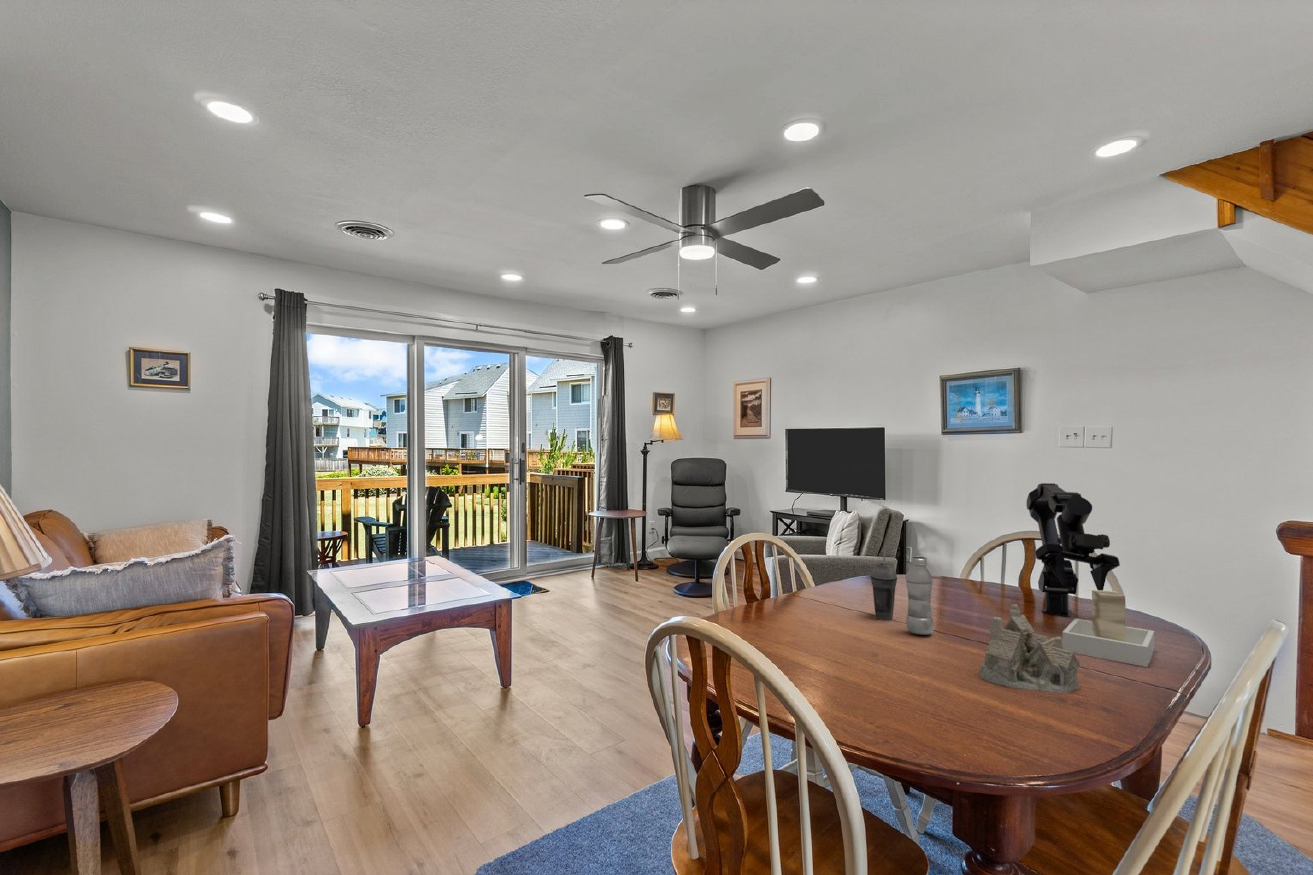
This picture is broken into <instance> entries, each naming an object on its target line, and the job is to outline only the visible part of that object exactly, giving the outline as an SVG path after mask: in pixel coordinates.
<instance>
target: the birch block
mask: <svg viewBox="0 0 1313 875" xmlns="http://www.w3.org/2000/svg"><path fill="white" fill-rule="evenodd" d="M1091 616H1092V617H1091V619H1092V620H1091V621H1092V636H1094V637H1100V638H1105V639H1111V640H1117V641H1122V642H1126V627H1127V626H1126V625H1127V624H1126V595H1124V594H1122V593H1120V592H1118V591H1116V590H1103V591H1102V590H1097V589H1092V590H1091Z"/></svg>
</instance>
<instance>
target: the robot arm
mask: <svg viewBox="0 0 1313 875" xmlns="http://www.w3.org/2000/svg"><path fill="white" fill-rule="evenodd" d="M1026 509H1027V510H1028V512H1029V514H1030V515H1029V516H1030V517H1031V518H1032V519H1033V520H1034V521H1035V522H1036V523H1037V526H1038V529H1039V534H1040V540H1041V544H1042V545H1041V546H1039V547H1038V548H1036V550H1035V559H1036V560H1038V561H1041V563H1042V564H1044V565H1043V566H1042V570H1041V571H1040V572H1041V573H1040V574H1039V578H1038V582H1037V583H1038V590H1039V591H1040V592H1042V593H1045V594H1044V595H1045V596H1044V597H1045V608H1043V610H1041V612H1042V613H1043V614H1049V615H1055V616H1061V617H1069V616H1070V615H1071V614H1072V613H1073V610H1069V608H1070V606H1069V601H1070V600H1069V599H1070V598H1069V595H1077V588H1078V583H1079V577H1077V574H1076V573H1075V571H1074V569H1073V565H1072V564H1073V563H1072V562H1071V561H1075V562H1080V563H1085V564H1088V565H1089V567H1090V569H1091V570H1090V571H1089V572H1090V574H1091V577H1092V580H1093V583H1094V586H1095V587H1096V590H1102V591H1104V589H1105V588H1104V587H1105V583H1106V579H1107V576H1108V573H1109V572H1111V571H1112V570H1114V569H1116V568H1118V567H1119V566H1121V565H1120V564H1121V563H1120V559H1119V557H1118V556H1116V555H1112V554H1107V553H1099V554H1098V555H1096V556H1091V555H1090V554H1093V553H1095V550H1104V548H1105V549H1107V548H1109V547H1110V546H1111V541H1110V538H1109V535H1107V534H1097V535H1096V534H1091V533H1085V529H1084V525H1083V524H1085V523H1086V522H1087V520H1088V519H1089V516H1090V515H1091V513H1092V511H1093V505H1092V503H1091V502H1090V501H1089V500H1088V499H1086V498H1084V497H1082V495H1081V493H1078V492H1074V491H1073V492H1071V491H1065V490H1064V489H1063V488H1061V487H1059V485H1058V484H1056V483H1054V482H1053V483H1047V482H1046V483H1045V482H1044V483H1043V482H1041V483H1039V484H1038V485H1037V487H1036V488H1035V489H1033V490H1032V491H1030V492H1028V495H1027V498H1026ZM1059 513H1060V514H1059ZM1057 514H1059V515H1058V516H1057ZM1056 522H1057V525H1056ZM1057 529H1058V530H1057Z"/></svg>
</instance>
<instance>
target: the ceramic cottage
mask: <svg viewBox="0 0 1313 875" xmlns="http://www.w3.org/2000/svg"><path fill="white" fill-rule="evenodd" d="M1009 612H1010V613H1009V617H1010V619H1009V620H1008V622H1007V623H1006V625H1005V627H1004V625H1003V619H1002V618H1001V617H998V616H994V617H992V620H991V621H992V622H991V627H990V629H989V639H988V640H989V641H988V645H987V647H986V649H985V651H984V652H985V654H984V660H983V662H982V663H980V668H979V674H978V676H979V677H980V678H981V679H983V680H984V681H985V682H989V683H991V684H995V685H999V686H1004V687H1007V688H1010V689H1021V690H1022V689H1023V690H1028V691H1030V690H1031V691H1041V692H1052V693H1058V694H1059V693H1060V694H1062V693H1063V694H1066V693H1067V694H1068V693H1072V692H1074V691H1076V690H1078V689H1080V683H1079V680H1078V679H1077V676H1078V675H1077V674H1078V669H1079V668H1078V667H1081V662H1080V660H1079V659H1078V658H1077V656H1076V655H1075V653H1073V652H1070V651H1066V650H1063V639H1062V637H1061V636H1055V637H1051V638H1050V639H1049V637H1048V636H1045V635H1042V634H1038V633H1037V634H1036V633H1035V630H1034V628H1033V627H1032V625H1031V623H1030V622H1029V620H1028V619H1027V617H1026V616H1025V615H1024V614H1021V611H1020V608H1019V605H1018V604H1011V609H1010V610H1009Z"/></svg>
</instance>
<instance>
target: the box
mask: <svg viewBox="0 0 1313 875" xmlns="http://www.w3.org/2000/svg"><path fill="white" fill-rule="evenodd" d="M1062 646H1063V650H1066V651H1070V652H1073V653H1074V654H1078V655H1081V656H1089V657H1092V658H1093V657H1094V658H1098V659H1103V660H1108V661H1114V662H1119V663H1124V664H1128V665H1134V666H1139V667H1145V668H1148V667H1149V665H1150V662H1151V660H1152V657H1153V654H1154V653H1155V630H1151V629H1144V628H1138V627H1137V628H1136V627H1131V626H1126V642H1122V641H1117V640H1111V639H1105V638H1100V637H1094V636H1092V620H1088V619H1081V618H1074V619H1072V620H1071V622H1070V623H1069V625H1068V626H1066V627H1065V628H1064V629H1063V631H1062Z"/></svg>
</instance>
